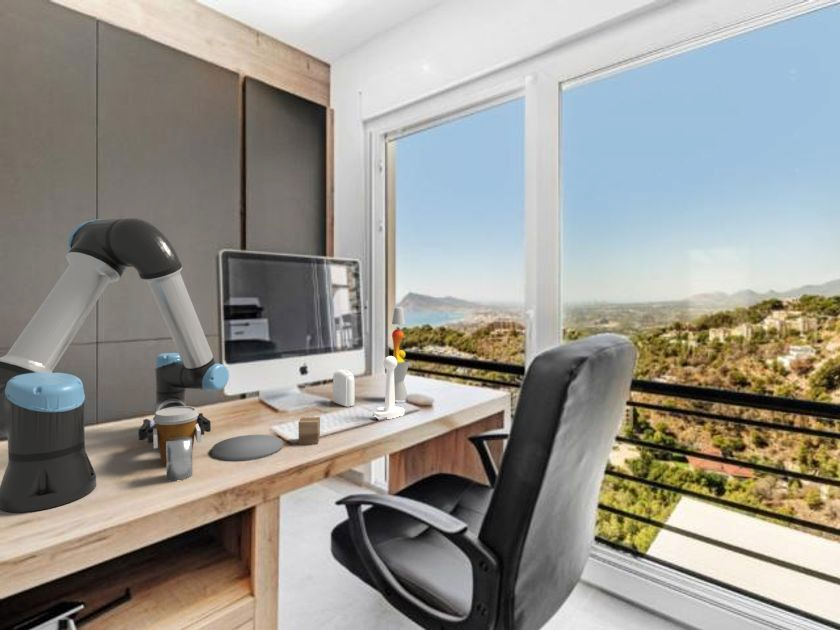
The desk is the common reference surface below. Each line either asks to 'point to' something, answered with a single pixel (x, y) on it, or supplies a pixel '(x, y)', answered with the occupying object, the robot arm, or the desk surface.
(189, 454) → the chrome cylinder
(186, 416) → the disposable coffee cup
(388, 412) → the joystick
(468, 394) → the desk surface
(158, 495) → the desk surface
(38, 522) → the desk surface
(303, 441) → the walnut block
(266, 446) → the round gray coaster
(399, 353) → the lava lamp
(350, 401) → the photo printer
